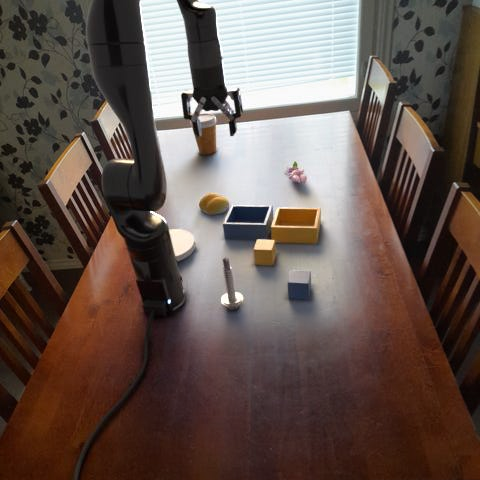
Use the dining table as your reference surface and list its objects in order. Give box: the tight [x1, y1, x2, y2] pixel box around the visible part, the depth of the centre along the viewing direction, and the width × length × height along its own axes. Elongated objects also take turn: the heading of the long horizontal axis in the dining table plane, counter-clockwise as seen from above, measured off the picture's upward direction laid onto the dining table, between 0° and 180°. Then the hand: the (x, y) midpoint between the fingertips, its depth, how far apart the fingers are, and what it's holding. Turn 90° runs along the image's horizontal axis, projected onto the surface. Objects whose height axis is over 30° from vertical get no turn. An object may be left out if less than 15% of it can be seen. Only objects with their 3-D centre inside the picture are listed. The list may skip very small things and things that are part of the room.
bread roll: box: [198, 192, 230, 216], centre depth 133 cm, size 8×9×4 cm
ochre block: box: [253, 239, 277, 266], centre depth 110 cm, size 4×4×4 cm
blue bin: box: [222, 204, 274, 241], centre depth 122 cm, size 10×12×4 cm
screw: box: [220, 257, 244, 311], centre depth 96 cm, size 13×5×5 cm
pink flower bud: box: [284, 160, 308, 184], centre depth 140 cm, size 6×6×15 cm
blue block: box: [287, 269, 312, 301], centre depth 100 cm, size 4×4×4 cm
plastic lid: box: [169, 228, 197, 262], centre depth 119 cm, size 14×14×2 cm
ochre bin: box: [270, 206, 322, 244], centre depth 118 cm, size 10×12×4 cm
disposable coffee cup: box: [189, 112, 218, 155], centre depth 163 cm, size 10×10×12 cm
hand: (216, 135), depth 112 cm, fingers open, 8 cm apart
